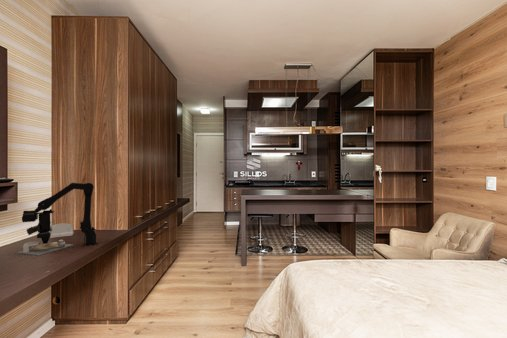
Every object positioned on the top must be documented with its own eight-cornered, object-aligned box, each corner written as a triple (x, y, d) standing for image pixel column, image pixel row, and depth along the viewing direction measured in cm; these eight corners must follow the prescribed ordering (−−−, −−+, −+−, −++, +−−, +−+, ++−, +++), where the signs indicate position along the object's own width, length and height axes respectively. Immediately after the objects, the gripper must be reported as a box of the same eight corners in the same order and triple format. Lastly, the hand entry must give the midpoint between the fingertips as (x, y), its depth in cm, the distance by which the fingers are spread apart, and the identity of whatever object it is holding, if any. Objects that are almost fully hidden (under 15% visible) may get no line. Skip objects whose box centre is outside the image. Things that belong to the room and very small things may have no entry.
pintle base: (73, 245, 172) (73, 237, 172) (39, 255, 152) (38, 247, 152) (52, 243, 177) (52, 236, 177) (16, 253, 157) (16, 244, 157)
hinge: (44, 238, 191) (45, 224, 194) (45, 239, 195) (46, 225, 198) (73, 235, 199) (73, 221, 202) (73, 236, 203) (73, 222, 206)
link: (65, 245, 170) (65, 240, 170) (64, 246, 166) (64, 242, 166) (34, 249, 162) (34, 244, 162) (33, 250, 158) (33, 246, 158)
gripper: (29, 219, 168) (29, 244, 168) (25, 225, 152) (25, 252, 152) (51, 217, 174) (52, 241, 174) (50, 222, 159) (50, 249, 159)
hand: (44, 246), depth 165 cm, fingers closed
